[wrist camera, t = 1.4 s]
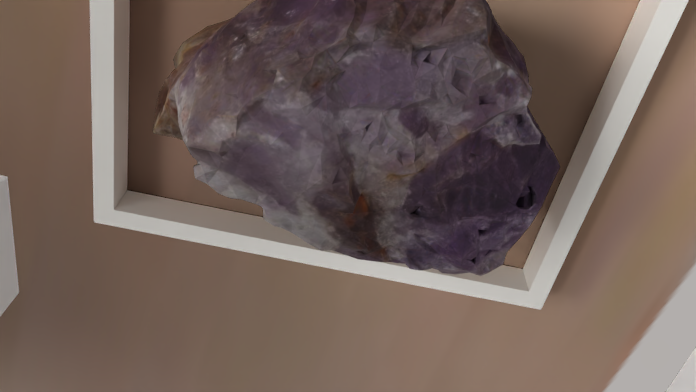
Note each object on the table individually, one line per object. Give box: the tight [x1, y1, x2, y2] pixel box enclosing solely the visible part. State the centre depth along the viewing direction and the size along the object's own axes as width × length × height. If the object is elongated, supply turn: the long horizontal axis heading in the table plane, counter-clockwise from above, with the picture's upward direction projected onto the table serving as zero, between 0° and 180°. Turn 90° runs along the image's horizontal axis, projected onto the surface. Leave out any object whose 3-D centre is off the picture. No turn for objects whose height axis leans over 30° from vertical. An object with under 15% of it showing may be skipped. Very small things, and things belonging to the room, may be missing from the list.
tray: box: [90, 0, 689, 310], centre depth 22 cm, size 19×17×2 cm
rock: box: [153, 0, 560, 276], centre depth 20 cm, size 12×9×10 cm
